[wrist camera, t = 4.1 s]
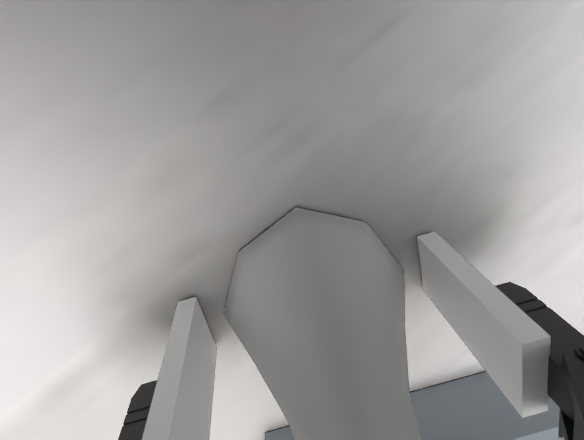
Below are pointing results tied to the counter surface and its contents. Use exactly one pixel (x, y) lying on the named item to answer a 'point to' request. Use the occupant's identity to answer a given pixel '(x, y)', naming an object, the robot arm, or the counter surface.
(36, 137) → the counter surface
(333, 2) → the counter surface
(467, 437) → the bin
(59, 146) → the counter surface
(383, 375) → the flask
